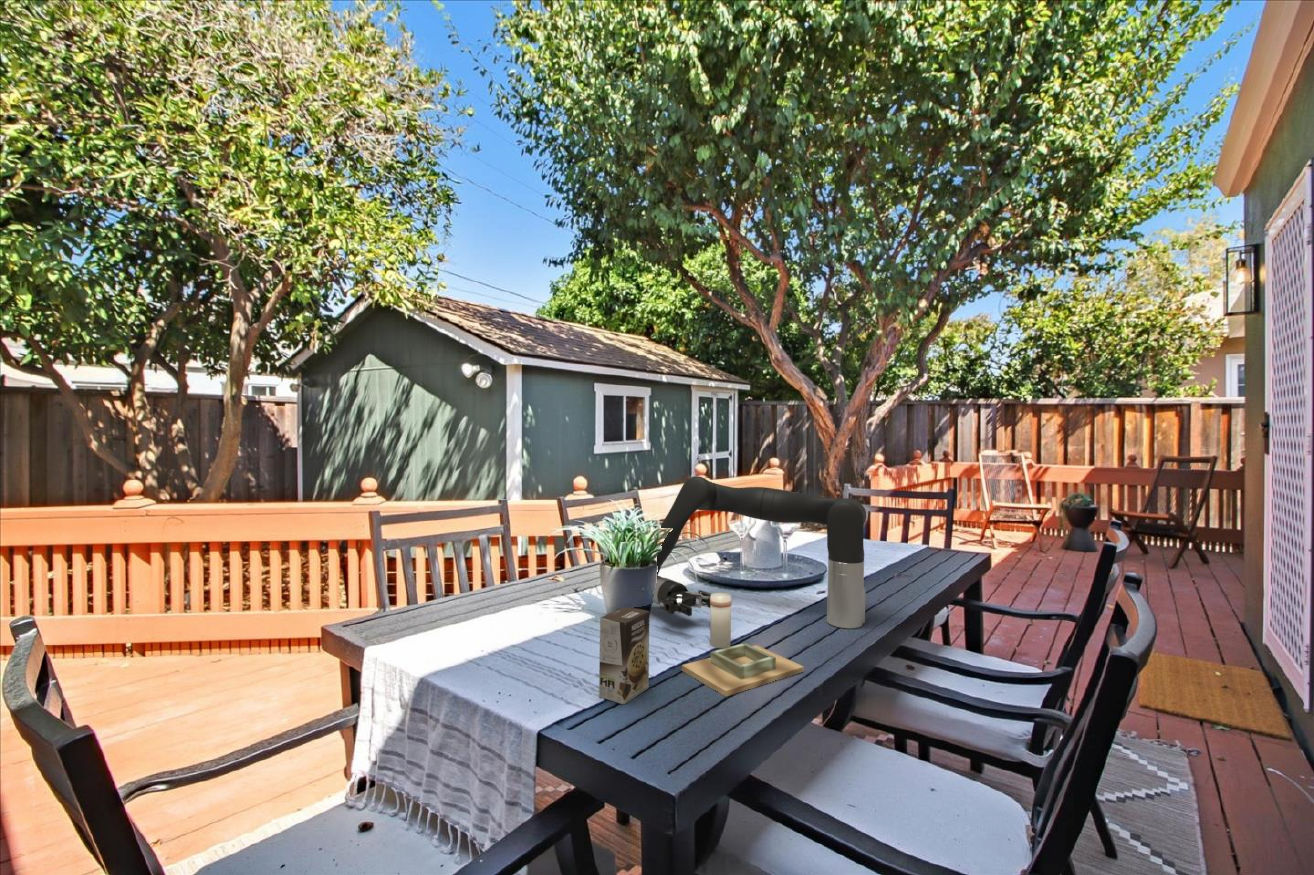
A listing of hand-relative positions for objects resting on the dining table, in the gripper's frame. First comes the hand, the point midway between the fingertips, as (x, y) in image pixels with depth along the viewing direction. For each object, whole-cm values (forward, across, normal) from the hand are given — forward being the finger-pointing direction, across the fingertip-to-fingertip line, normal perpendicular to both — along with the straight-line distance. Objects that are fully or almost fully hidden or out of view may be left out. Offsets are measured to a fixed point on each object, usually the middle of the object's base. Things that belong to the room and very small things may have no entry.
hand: (704, 609), depth 160 cm
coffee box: (+16, -33, +7) cm, 38 cm away
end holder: (+21, -6, +7) cm, 23 cm away
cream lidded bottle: (+6, 0, +7) cm, 9 cm away
